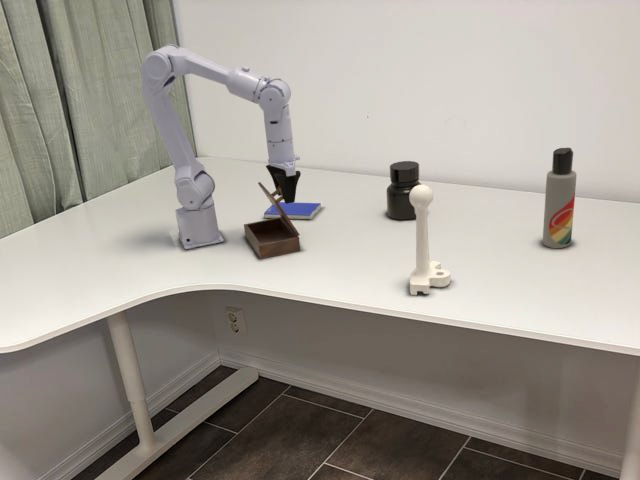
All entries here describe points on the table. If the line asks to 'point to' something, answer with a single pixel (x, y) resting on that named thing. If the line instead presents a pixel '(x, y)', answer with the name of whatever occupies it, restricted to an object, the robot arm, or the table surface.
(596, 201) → the table surface
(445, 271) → the joystick
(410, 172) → the ink bottle
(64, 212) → the table surface
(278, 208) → the lid
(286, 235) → the case
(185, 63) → the robot arm
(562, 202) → the lotion bottle
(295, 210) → the hard drive
